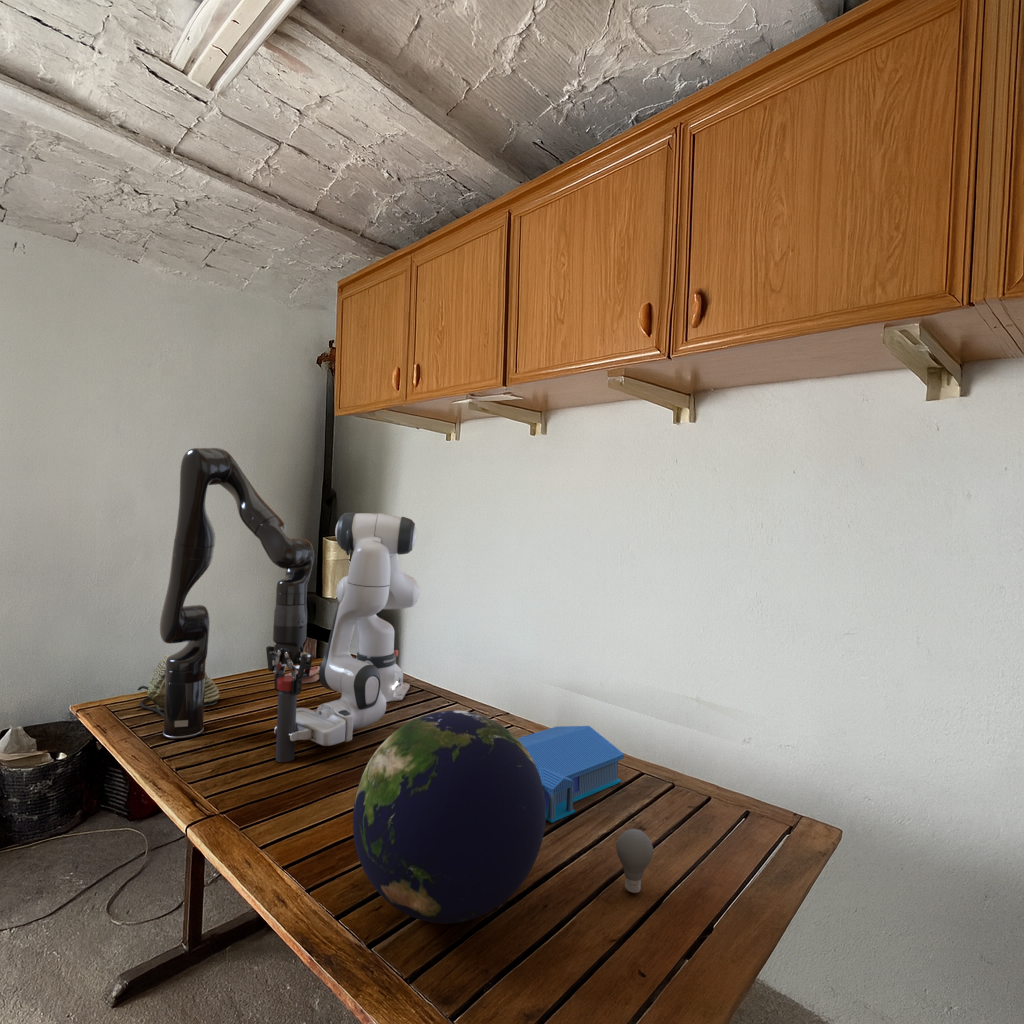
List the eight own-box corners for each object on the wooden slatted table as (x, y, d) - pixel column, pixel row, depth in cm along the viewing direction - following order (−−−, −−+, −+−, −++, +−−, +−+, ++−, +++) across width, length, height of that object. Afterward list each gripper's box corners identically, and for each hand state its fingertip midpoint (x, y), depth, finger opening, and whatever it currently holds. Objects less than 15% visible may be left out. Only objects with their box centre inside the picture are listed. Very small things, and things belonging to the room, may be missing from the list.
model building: (505, 843, 118) (507, 790, 118) (429, 794, 136) (431, 748, 136) (632, 786, 145) (634, 743, 144) (555, 752, 163) (557, 713, 163)
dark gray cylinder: (297, 756, 154) (300, 680, 153) (289, 763, 149) (292, 685, 149) (281, 754, 154) (284, 679, 154) (272, 761, 150) (275, 684, 150)
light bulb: (610, 879, 108) (613, 822, 108) (644, 879, 109) (647, 822, 109) (619, 902, 102) (622, 840, 102) (655, 901, 103) (658, 840, 103)
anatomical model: (271, 670, 211) (289, 662, 222) (270, 682, 211) (289, 673, 222) (307, 674, 208) (324, 665, 220) (306, 686, 208) (324, 677, 220)
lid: (302, 686, 154) (302, 676, 154) (292, 691, 149) (292, 682, 149) (283, 684, 154) (284, 674, 154) (272, 690, 150) (273, 680, 150)
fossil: (144, 707, 182) (145, 655, 182) (212, 696, 194) (213, 647, 194) (151, 716, 175) (153, 662, 175) (221, 703, 188) (223, 653, 188)
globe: (306, 934, 92) (314, 729, 91) (413, 836, 119) (420, 678, 119) (495, 1005, 80) (505, 771, 80) (565, 878, 108) (573, 704, 108)
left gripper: (257, 620, 152) (254, 690, 152) (298, 628, 144) (295, 702, 145) (282, 615, 158) (280, 683, 158) (323, 623, 151) (321, 694, 151)
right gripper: (306, 698, 168) (258, 710, 157) (356, 716, 156) (308, 731, 145) (306, 722, 168) (258, 736, 157) (355, 742, 156) (307, 759, 145)
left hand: (287, 692), depth 152 cm, fingers open, 5 cm apart
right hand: (282, 734), depth 151 cm, fingers closed on dark gray cylinder, 4 cm apart
